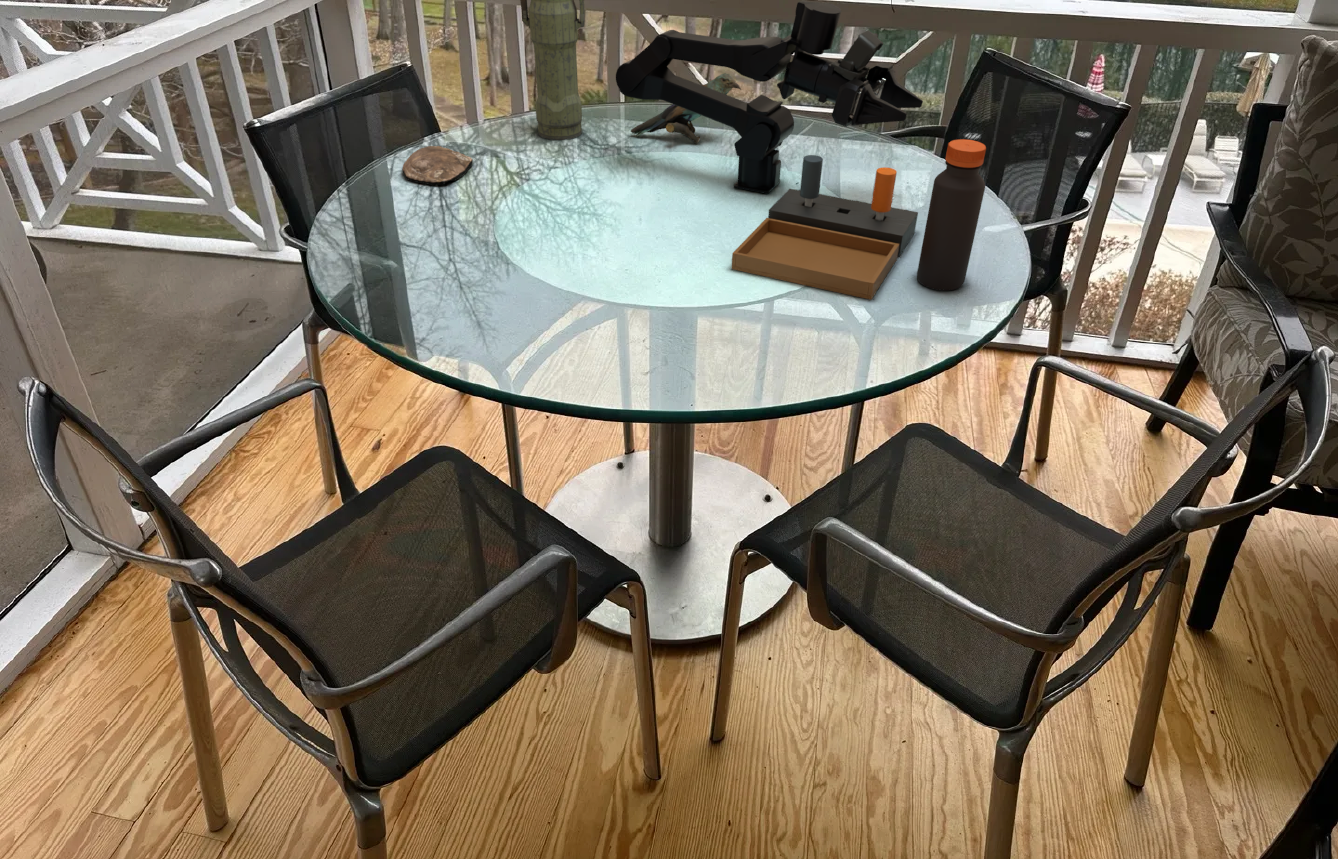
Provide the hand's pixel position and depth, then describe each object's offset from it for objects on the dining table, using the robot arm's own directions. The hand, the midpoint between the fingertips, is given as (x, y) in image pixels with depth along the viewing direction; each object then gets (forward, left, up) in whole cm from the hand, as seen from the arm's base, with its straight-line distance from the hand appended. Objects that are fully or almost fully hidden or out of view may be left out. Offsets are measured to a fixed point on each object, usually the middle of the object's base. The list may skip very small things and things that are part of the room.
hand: (914, 110), depth 145 cm
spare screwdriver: (-12, -11, -17) cm, 24 cm away
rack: (-6, -11, -17) cm, 21 cm away
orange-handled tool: (-1, -11, -17) cm, 20 cm away
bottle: (+12, -21, -17) cm, 29 cm away
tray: (-6, -24, -17) cm, 30 cm away
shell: (-79, -19, -17) cm, 83 cm away
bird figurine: (-46, +16, -17) cm, 52 cm away
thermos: (-70, +9, -17) cm, 73 cm away
